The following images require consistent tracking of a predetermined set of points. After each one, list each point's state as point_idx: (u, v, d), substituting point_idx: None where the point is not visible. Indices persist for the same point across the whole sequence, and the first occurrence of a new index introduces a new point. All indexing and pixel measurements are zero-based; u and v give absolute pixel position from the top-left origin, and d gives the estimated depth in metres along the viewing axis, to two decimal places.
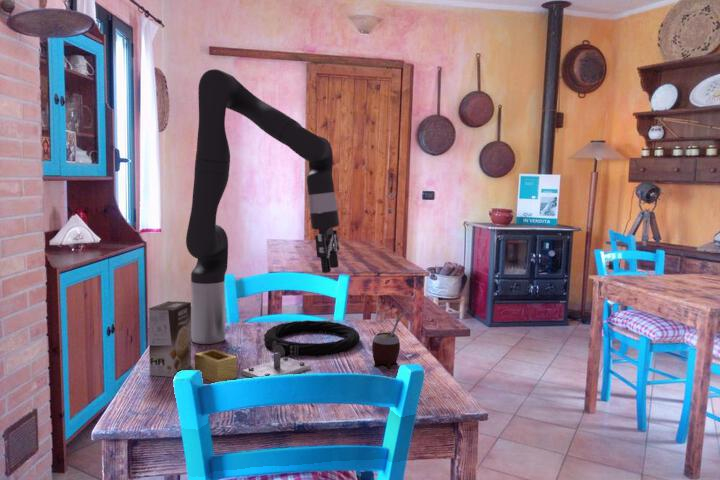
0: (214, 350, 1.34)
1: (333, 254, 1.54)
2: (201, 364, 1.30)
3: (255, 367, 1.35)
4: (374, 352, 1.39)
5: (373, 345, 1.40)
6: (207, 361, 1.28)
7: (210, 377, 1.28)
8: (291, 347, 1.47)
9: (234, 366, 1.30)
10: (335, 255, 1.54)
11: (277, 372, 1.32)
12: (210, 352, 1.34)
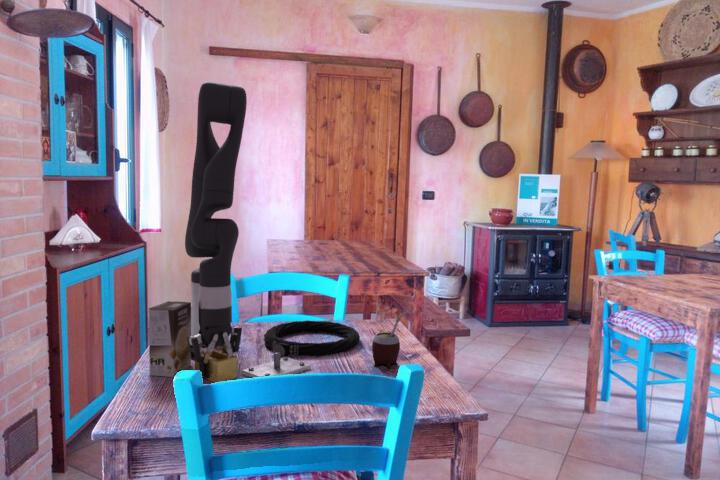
0: (214, 350, 1.34)
1: None
2: None
3: (255, 367, 1.35)
4: (374, 352, 1.39)
5: (373, 345, 1.40)
6: None
7: (210, 377, 1.28)
8: (291, 347, 1.47)
9: (234, 366, 1.30)
10: None
11: (277, 372, 1.32)
12: None
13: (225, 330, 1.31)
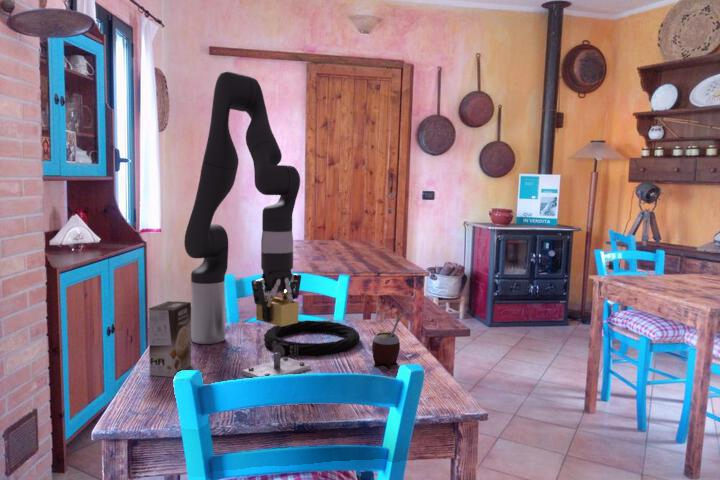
0: None
1: None
2: None
3: (255, 367, 1.35)
4: (374, 352, 1.39)
5: (373, 345, 1.40)
6: None
7: (273, 321, 1.31)
8: (291, 347, 1.47)
9: (296, 311, 1.32)
10: None
11: (277, 372, 1.32)
12: None
13: (286, 276, 1.34)
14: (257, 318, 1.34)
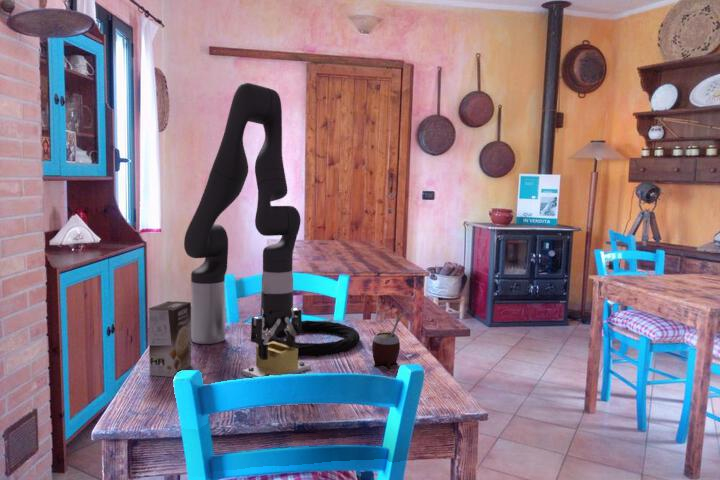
0: (274, 342, 1.38)
1: (289, 337, 1.37)
2: None
3: (255, 367, 1.35)
4: (374, 352, 1.39)
5: (373, 345, 1.40)
6: (270, 352, 1.32)
7: (273, 368, 1.32)
8: None
9: (296, 358, 1.34)
10: (291, 338, 1.37)
11: None
12: (270, 344, 1.38)
13: (286, 315, 1.35)
14: (257, 364, 1.36)
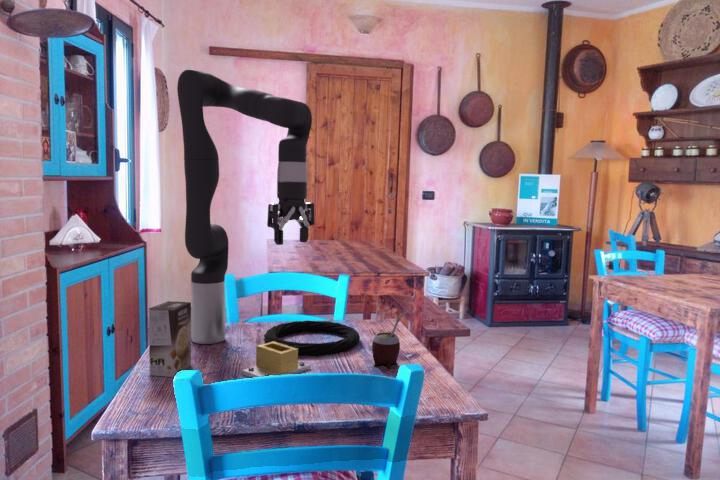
0: (274, 342, 1.38)
1: (303, 228, 1.46)
2: (264, 356, 1.34)
3: (255, 367, 1.35)
4: (374, 352, 1.39)
5: (373, 345, 1.40)
6: (270, 352, 1.32)
7: (273, 368, 1.32)
8: None
9: (296, 358, 1.34)
10: (304, 229, 1.46)
11: None
12: (270, 344, 1.38)
13: (300, 205, 1.43)
14: (257, 364, 1.36)
